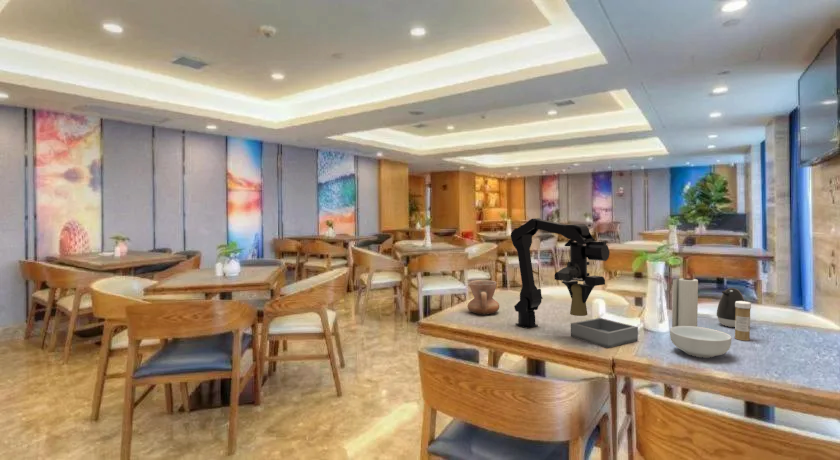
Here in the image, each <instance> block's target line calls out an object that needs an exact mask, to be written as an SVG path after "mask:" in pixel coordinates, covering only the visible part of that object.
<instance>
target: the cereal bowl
mask: <svg viewBox="0 0 840 460" xmlns="http://www.w3.org/2000/svg"><path fill="white" fill-rule="evenodd" d="M669 335H670V336H669V337H670V341H671V342H672V344H673V345H674V346H675V347H676V348H677V349H679V350H680V351H683V352H684V353H685V354H686V355H689V356H691V355H692V357H695V356H696V358H702V357H703V359H704V358H705V359H708V358H709V359H711V358H713V357H715V356H716V357H717V356H721V355H722V356H723V355H724V354H726V353H727V352H728V351H729V350H730V348H731V346H732V336H731V335H730V334H728V333H726V332H723V331H721V330H716V329H713V328H708V327H702V326H697V327H695V326H676V327H673V328H672V327H671V328H670V329H669ZM710 357H711V358H710Z"/></svg>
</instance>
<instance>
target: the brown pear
mask: <svg viewBox="0 0 840 460" xmlns="http://www.w3.org/2000/svg"><path fill="white" fill-rule="evenodd" d="M580 285H581V283H578V284H573V285H572V286H571V291H572V293H573V295H572V299H571V304H570V311H569V315H571V316H576V317H585V316H588V309H587V302H586V303H583V301H582V288H581V287H580Z"/></svg>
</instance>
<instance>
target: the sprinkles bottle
mask: <svg viewBox="0 0 840 460" xmlns="http://www.w3.org/2000/svg"><path fill="white" fill-rule="evenodd" d="M735 308H736V312H735V328H734V338H735V340H737V341H738V340H739V341H745V342H746V341H750V340H751V338H750V337H751V335H750V333H751V308H752V303H751V302H750V301H736V302H735Z"/></svg>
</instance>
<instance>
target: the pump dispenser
mask: <svg viewBox="0 0 840 460" xmlns="http://www.w3.org/2000/svg"><path fill="white" fill-rule="evenodd" d="M721 293H722V294H721V296H720V298H719V301H718V305H717V308H716V317H717V320H718V321H719V323H720V324H721V325H723V326H724V325H725V327H727V326H729V327H728V328H732V327H735V312H736V308H735V302H736V301H745V298H744V296H743V294H742V293H741V291H740V290H739V289H737V288H736V287H735V288H734V287H729V288H727V289H725V290H722V291H721Z"/></svg>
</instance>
